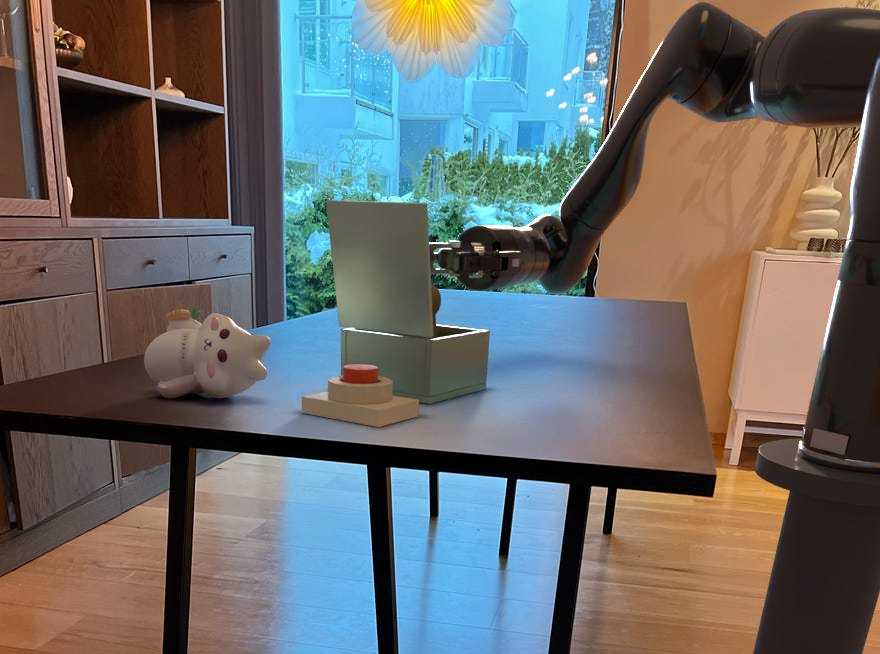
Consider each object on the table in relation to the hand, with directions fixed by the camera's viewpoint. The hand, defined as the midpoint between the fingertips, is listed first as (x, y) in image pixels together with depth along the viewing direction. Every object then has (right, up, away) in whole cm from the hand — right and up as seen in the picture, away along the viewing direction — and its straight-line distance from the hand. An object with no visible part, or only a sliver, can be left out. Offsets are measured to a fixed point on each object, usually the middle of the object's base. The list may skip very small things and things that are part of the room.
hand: (424, 261), depth 102 cm
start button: (-7, -17, -10) cm, 21 cm away
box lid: (-5, -3, -6) cm, 9 cm away
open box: (-1, -13, +5) cm, 14 cm away
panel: (-7, -20, -9) cm, 23 cm away
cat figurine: (-24, -16, -3) cm, 29 cm away
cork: (-1, -13, +5) cm, 14 cm away
